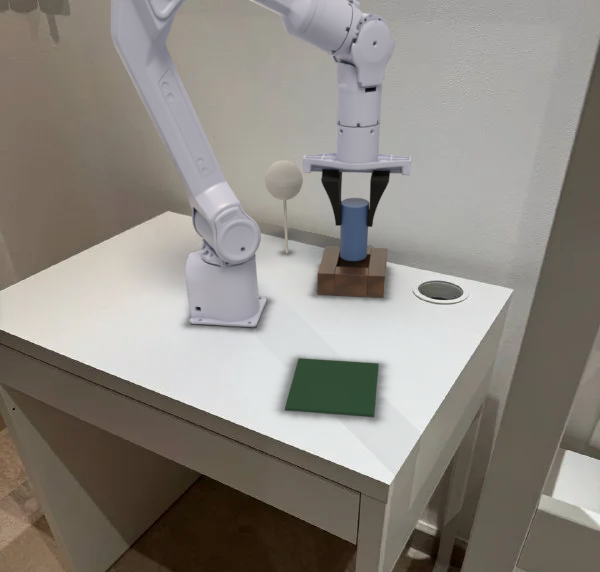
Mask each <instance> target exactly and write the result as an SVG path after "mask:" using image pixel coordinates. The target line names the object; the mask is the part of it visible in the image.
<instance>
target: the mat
mask: <svg viewBox="0 0 600 572" xmlns="http://www.w3.org/2000/svg"><path fill="white" fill-rule="evenodd" d="M379 365H380V363H378V362H363V361H362V362H361V361H349V360H348V361H347V360H333V359H332V360H331V359H319V358H301V357H300V358H298V359H297V362H296V366H295V370H294V374H293V376H292V377H293V378H292V381H291V384H290V387H289V392H288V396H287V399H286V403H285V406H284V410H285V411H291V412H293V411H294V412H306V413H318V414H331V415H344V416H357V417H370V418H375V413H376V412H375V410H376V401H377V400H376V398H377V389H378V377H379V367H380V366H379Z"/></svg>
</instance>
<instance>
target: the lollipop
mask: <svg viewBox="0 0 600 572" xmlns="http://www.w3.org/2000/svg"><path fill="white" fill-rule="evenodd" d="M303 182H304V179H303V173H302V171H301V169H300V168H299V167H298V165H296V164H295V163H294V162H292V161H290V160H286V159H285V160H284V159H282V160H278V161H275V162H273V163H272V164H271V165H270V166H269V167H268V169H267V171H266V173H265V175H264V183H265V187H266V189H267V191H268V193H269V194H270V195H271V197H273V198H274V199H276V200H280V201H283V223H284V224H283V225H284V244H285V246H284V247H285V248H284V249H285V254H289V236H288V235H289V234H288V211H287V210H288V209H287V201H289V200H291V199H294V198H295V197H296V196H297V195H298V194H299V193H300V192H301V189H302V187H303Z"/></svg>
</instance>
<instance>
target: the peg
mask: <svg viewBox="0 0 600 572" xmlns="http://www.w3.org/2000/svg"><path fill="white" fill-rule="evenodd" d="M369 206H370V200H368V199H365V198H362V197H349V198H345V199H343V200H341V225H340V227H339V228H340V229H339V230H340V232H339V235H340V236H339V247H340V257H341V258H342V259H344V260H347V261H360V260H363V259H365V258H366V256H367V248H368V238H369V237H368V236H369V227H367V221H368V214H369Z"/></svg>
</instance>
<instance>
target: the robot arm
mask: <svg viewBox="0 0 600 572" xmlns="http://www.w3.org/2000/svg"><path fill="white" fill-rule="evenodd" d="M248 1H249V2H252V3H254V4H256V5H258V6H260V7H262V8H264V9H266V10H268V11H271V12H272V13H274V14H277V15H278V16H279V17H280V21H281V24H282V27H283V29H284V31H285V33H286V34H287V35H288V36H292V37H293V38H295V39H296V40H298V41H301V42H303V43H304V44H307V45H309V46H311V47H313V48H314V49H317V50H318V51H320V52H322V53H324V54H326V55H328V56H330V57H331V59H332V61H333V62H335V63H336V98H335V99H336V101H335V102H336V105H335V106H336V109H335V110H336V111H335V112H336V113H335V152H327V153H315V154H313V153H312V154H310V153H309V154H304V155H303V157H302V174H311V173H312V172H313V173H315V172H318V173H321V178H320V181H321V184H322V188H323V189H324V190H325V193H326V195H327V197H328V200H329V202H330V205H331V208H332V212H333V216H334V222H335V226H337V227H338V226H341V202H342V186H343V185H342V184H343V173H357V174H358V173H359V174H360V173H361V174H362V173H363V174H364V173H366V174H371V175H370V181H369V214H368V221H367V227H368V228H372V227H373V225H374V218H375V214H376V211H377V208H378V206H379V203H380V201H381V199H382V196H383V195H384V193H385V190H386V189H387V187H388V185H389V183H390V178H391V177H390V175H391V174H401V175H402V176H410V175H411V170H412V169H411V168H412V156H411V155H407V156H406V155H397V154H388V153H379V151H380V150H379V149H380V148H379V147H380V132H381V131H380V130H381V114H382V113H381V112H382V97H383V95H382V94H383V81H384V80H385V71H386V67H387V64H388V63H389V61H391V58H392V56H393V53H394V50H395V46H396V40H394V39H393V38H392V31H391V28H390V26H388V22H387V20H386V19H384V17H382V16H381V15H378V14H374V13H373V14H372V13H367V12H362V10H361V9H360V7H361V3H360V2H359V1H358V0H248ZM186 2H187V0H110V37H111V40H112V44H113V46H114V48H115V51H116V52H117V54H118V56H119V58H120V60H121V63H122V65H123V66H124V68H125V69H126V72H127V74H128V75H129V76H128V77H129V79H130V80H131V82H132V84H133V86H134V89H135V90H136V92H137V94H138V96H139V98H140V101H141V102H142V105H143V106H144V108H145V111H146V112H147V114H148V116H149V118H150V120H151V122H152V124H153V126H154V128H155V130H156V132H157V134H158V136H159V138H160V140H161V143H162V144H163V146H164V148H165V150H166V152H167V154H168V156H169V159H170V160H171V163H172V164H173V167H174V168H175V170H176V172H177V174H178V177H179V178H180V181H181V183H182V184H183V186H184V188H185V190H186V200H187V202H188V203H189V206H190V209H191V223H192V226H193V229H194V231H195V233H196V234H197V235H198V236H199V237H200V238H202V243H201V248H200V250H199V251H191V252H189V253H188V255H187V257H186V261H185V264H184V265H185V266H184V281H185V287H186V293H187V301H188V306H189V312H190V318H189V323H190V324H193V325H209V326H227V327H241V328H242V327H243V328H256V327H257V326H258V323H259V322H260V318H261V316H262V313H263V312H264V309H265V306H266V304H267V302H268V298H267V297H266V296H259V283H258V272H257V257H256V253H257V252H258V250H259V248H260V245H261V241H262V233H261V228H260V226H259V224H258V223H257V221H256V220H255V219H253V217H251V216H250V215H248V213H247V212H246V211H245V209H244V208H243V206H242V204H241V201H240V200H239V198H238V196H237V195H236V193H235V192H234V190H233V189H232V188H231V187H230V184H229V183H228V182H227V180H226V177H225V176H224V173H223V171H222V169H221V166H220V164H219V162H218V159H217V157H216V155H215V152H214V151H213V148H212V146H211V143H210V142H209V140H208V137H207V135H206V132H205V130H204V128H203V126H202V123H201V121H200V119H199V117H198V115H197V113H196V110H195V107H194V105H193V103H192V101H191V99H190V96H189V94H188V92H187V90H186V87H185V85H184V82H183V80H182V79H181V76H180V74H179V71H178V70H177V67H176V65H175V63H174V60H173V58H172V56H171V53H170V51H169V49H168V47H167V40H168V37H169V34H170V32H171V28H172V26H173V23H174V20H175V17H176V15H177V13H178V11H179V10H180V9H181V7H183V5H184V4H185V3H186Z"/></svg>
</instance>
